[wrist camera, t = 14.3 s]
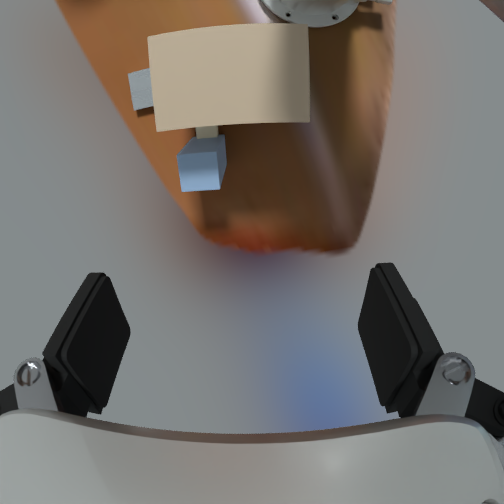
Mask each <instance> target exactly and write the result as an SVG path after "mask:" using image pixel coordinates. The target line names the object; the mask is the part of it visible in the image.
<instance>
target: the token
mask: <svg viewBox="0 0 504 504" xmlns="http://www.w3.org/2000/svg"><path fill="white" fill-rule="evenodd" d="M128 77H129V83H130V89H131V95H132V101H133V107H134V110H138V109H142V108H146V107H151V106H154V105H153V95H152V86H151V75H150V68H148V69H144V70H140V71H136V72H133V73H129V74H128Z"/></svg>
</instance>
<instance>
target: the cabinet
mask: <svg viewBox="0 0 504 504" xmlns="http://www.w3.org/2000/svg"><path fill="white" fill-rule="evenodd" d="M148 51H149V64H150V75H151V86H152V95H153V105H154V113H155V122H156V129H157V132H159V131H167V130H175V129H183V128H193V127H203V126H215V125H229V124H247V123H277V122H310V72H309V40H308V24H292V23H259V24H237V25H224V26H213V27H204V28H196V29H189V30H182V31H176V32H170V33H164V34H159V35H154V36H149V37H148Z"/></svg>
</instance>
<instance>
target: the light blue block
mask: <svg viewBox="0 0 504 504" xmlns="http://www.w3.org/2000/svg"><path fill="white" fill-rule="evenodd" d="M177 161H178V168H179V175H180V182H181V189H182V192H187V191H201V190H216V189H220V187H221V184H222V180H223V176H224V173H225V169H226V165H227V160H226V147H225V134H222V135H219V134H218V125H215V126H203V127H196V137H193V138H192V139H191V140H190V141H189V142H188V143H187V144H186V145H185V146H184V148H183V149H182V150H181V151H180V152H179V153H178V154H177Z"/></svg>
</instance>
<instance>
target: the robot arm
mask: <svg viewBox="0 0 504 504" xmlns="http://www.w3.org/2000/svg"><path fill="white" fill-rule="evenodd" d="M359 1H360V2H366V1H367V0H262V2H263V3H264V4H265V6H266V7H267V8H268V9H269V10H270V11H271V12H273V13H274V14H275V15H277V16H278V17H280V18H281V19H283V20H285V21H287V22H290V23H292V24H308V27H311V28H317V27H326V26H331V25H334V24H337V23H339V22H341V21H343V20H345V19H346V18H347V17H349V16H350V15H351V14H352V13H353V12H354V11H355V9H356V8H357V6H358V4H359ZM370 1H375V2H377V3H382V4H386V5H391V3H392V0H370ZM479 1H481V2H482V3H483V4H484V5H485V6H486V7H487V8H489V9H490V10H491V11H492V12H493V13H494V14H495V15H496V16H497V17H498V18H499V19H501V20H502V21H503V22H504V0H479ZM286 14H289V15H290V17H287V16H286ZM332 17H335V20H333V19H332ZM358 330H359V334H360V337H361V340H362V344H363V347H364V350H365V353H366V357H367V360H368V363H369V366H370V370H371V373H372V376H373V380H374V384H375V387H376V391H377V394H378V398H379V402H380V404H381V406H385V408H386V411H387V413H391V412H396V411H398V414H399V417H401V418H399V419H392V420H387V421H381V422H375V423H369V424H363V425H356V426H349V427H341V428H333V429H325V430H315V431H304V432H289V433H266V434H218V433H216V434H215V433H196V432H182V431H171V430H161V429H153V428H152V429H151V428H145V427H137V426H130V425H124V424H117V423H112V422H107V421H102V420H96V419H91V418H87V413H88V412H91V413H96V414H101V412H102V409H103V407H106V405H107V403H108V400H109V397H110V393H111V390H112V387H113V384H114V381H115V378H116V375H117V372H118V369H119V366H120V363H121V360H122V357H123V354H124V351H125V349H126V346H127V343H128V340H129V337H130V327H129V324H128V322H127V320H126V317H125V315H124V313H123V310H122V308H121V305H120V303H119V301H118V298H117V295H116V293H115V290H114V287H113V285H112V282H111V280H110V278H109V277H108V276H106V274H104V273H89V274H88V275H87V277H86V279H85V280H84V282H83V283H82V285H81V286H80V288H79V290H78V291H77V293H76V295H75V296H74V298H73V299H72V301H71V303H70V304H69V306H68V308H67V310H66V311H65V313H64V315H63V317H62V318H61V320H60V322H59V323H58V325H57V327H56V329H55V331H54V333H53V334H52V336H51V338H50V340H49V342H48V343H47V345H46V348H45V349H44V351H43V356H44V359H43V360H40V359H39V358H36V357H35V358H29V359H26V360H25V361H23V362H22V363H21V364H20V365H19V366H18V367H17V369H16V370H15V373H14V384H12V385H10V386H8V387H7V388H5V389H3V390H2V391H0V504H504V393H503V392H502V391H500V390H497V389H495V388H494V387H492V386H489V385H488V384H486V383H484V382H482V381H480V380H478V379H476V378H475V370H474V366H473V365H472V363H471V361H470V360H469V359H468V358H467V357H465V356H463V355H462V354H459V353H456V352H451V353H450V352H449V353H446V354H444V353H443V350H442V348H441V346H440V344H439V342H438V340H437V338H436V336H435V334H434V332H433V330H432V329H431V327H430V325H429V323H428V321H427V319H426V317H425V315H424V313H423V311H422V310H421V308H420V306H419V304H418V302H417V301H416V299H415V298H413V297H412V295H411V293H410V291H409V290H408V288H407V286H406V284H405V283H404V281H403V279H402V278H401V276H400V274H399V272H398V271H397V269H396V267H395V266H394V264H393V263H378V264H376V266H375V268H372V269H371V271H370V275H369V280H368V284H367V288H366V293H365V297H364V301H363V305H362V309H361V313H360V317H359V321H358Z"/></svg>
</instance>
